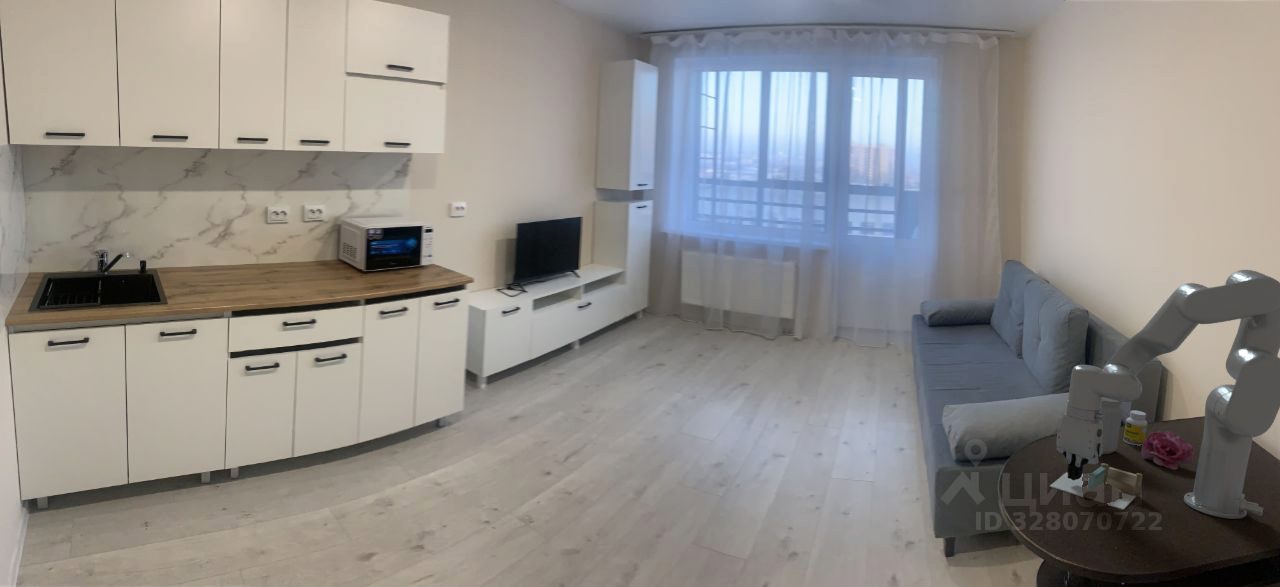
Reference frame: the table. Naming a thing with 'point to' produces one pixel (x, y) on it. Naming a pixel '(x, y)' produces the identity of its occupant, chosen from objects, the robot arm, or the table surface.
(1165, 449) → the flower
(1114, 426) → the jar
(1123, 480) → the fence fixed
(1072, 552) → the table surface
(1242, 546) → the table surface
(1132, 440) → the supplement bottle
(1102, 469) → the fence gate
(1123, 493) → the card
